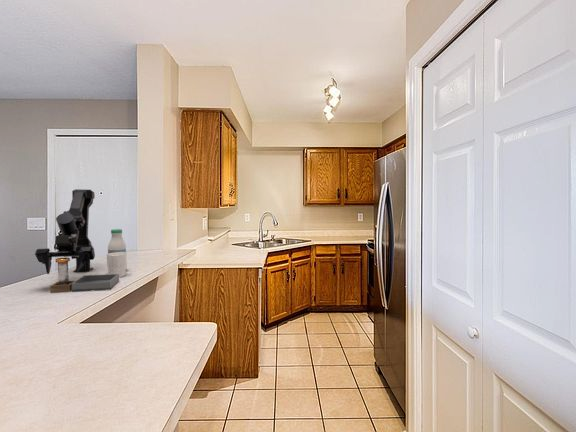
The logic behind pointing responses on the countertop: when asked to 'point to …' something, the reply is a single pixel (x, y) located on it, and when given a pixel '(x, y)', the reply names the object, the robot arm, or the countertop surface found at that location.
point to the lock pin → (63, 271)
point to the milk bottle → (116, 242)
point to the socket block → (61, 287)
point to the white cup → (116, 263)
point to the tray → (95, 282)
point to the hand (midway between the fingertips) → (62, 272)
